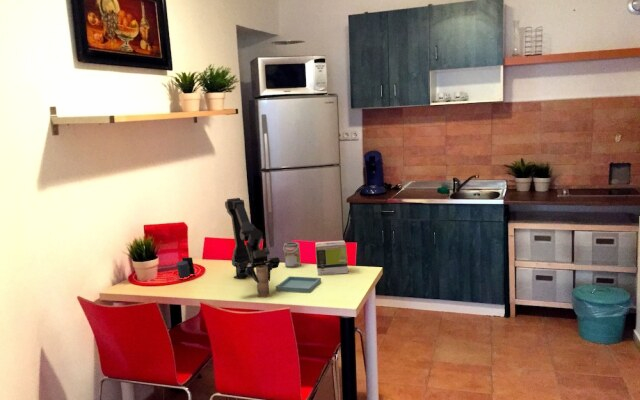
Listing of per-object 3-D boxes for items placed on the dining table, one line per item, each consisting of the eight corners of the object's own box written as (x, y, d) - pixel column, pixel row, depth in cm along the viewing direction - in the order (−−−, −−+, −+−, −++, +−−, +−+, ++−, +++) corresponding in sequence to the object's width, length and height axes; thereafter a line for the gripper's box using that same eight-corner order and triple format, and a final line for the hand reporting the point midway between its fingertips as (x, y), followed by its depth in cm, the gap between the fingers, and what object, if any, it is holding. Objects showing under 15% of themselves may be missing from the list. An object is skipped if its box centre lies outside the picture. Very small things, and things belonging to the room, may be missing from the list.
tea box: (346, 268, 278) (345, 239, 276) (348, 273, 268) (346, 244, 266) (316, 270, 278) (315, 241, 275) (317, 275, 268) (315, 246, 265)
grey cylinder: (298, 268, 282) (296, 245, 280) (282, 268, 284) (281, 245, 282) (302, 263, 291) (301, 241, 289) (287, 263, 293) (285, 241, 291)
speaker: (187, 274, 281) (184, 255, 278) (195, 276, 278) (192, 257, 275) (176, 280, 275) (173, 260, 272) (184, 282, 272) (181, 262, 269)
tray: (289, 280, 262) (289, 276, 262) (321, 282, 257) (320, 277, 257) (275, 290, 247) (275, 286, 247) (309, 292, 242) (308, 288, 242)
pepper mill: (261, 293, 245) (259, 265, 243) (271, 293, 244) (269, 265, 242) (256, 296, 241) (254, 268, 239) (266, 297, 239) (264, 268, 237)
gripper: (236, 245, 239) (245, 275, 230) (277, 239, 246) (287, 268, 238) (233, 258, 247) (242, 288, 239) (272, 252, 254) (282, 281, 246)
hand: (263, 281), depth 240 cm, fingers closed on pepper mill, 5 cm apart
